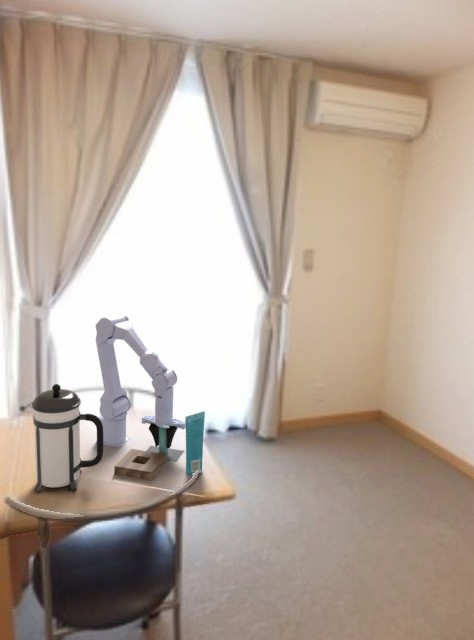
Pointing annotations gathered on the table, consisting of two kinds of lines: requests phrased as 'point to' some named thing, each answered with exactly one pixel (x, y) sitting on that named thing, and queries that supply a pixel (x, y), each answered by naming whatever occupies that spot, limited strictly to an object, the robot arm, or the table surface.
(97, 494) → the table surface
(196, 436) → the teal shampoo bottle
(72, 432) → the coffee press
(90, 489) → the table surface
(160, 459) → the hole block
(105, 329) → the robot arm
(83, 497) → the table surface
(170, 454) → the mat
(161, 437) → the peg
